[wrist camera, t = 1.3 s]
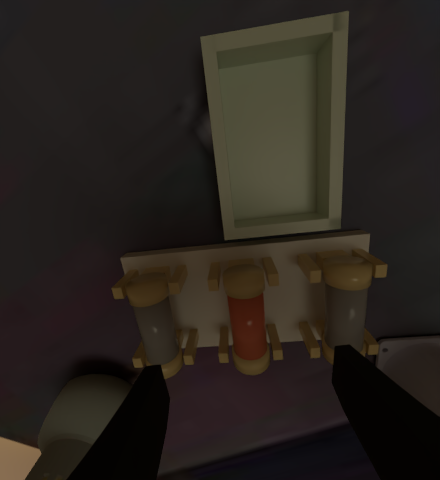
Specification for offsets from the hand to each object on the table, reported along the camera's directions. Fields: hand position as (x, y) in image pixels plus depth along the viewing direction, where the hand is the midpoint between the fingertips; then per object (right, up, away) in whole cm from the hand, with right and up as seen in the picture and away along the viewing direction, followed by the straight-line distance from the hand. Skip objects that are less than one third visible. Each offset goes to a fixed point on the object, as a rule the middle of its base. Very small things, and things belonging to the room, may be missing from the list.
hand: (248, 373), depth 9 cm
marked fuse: (+1, 0, +9) cm, 9 cm away
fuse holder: (+1, +1, +11) cm, 11 cm away
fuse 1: (-6, -1, +9) cm, 11 cm away
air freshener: (-13, -12, +16) cm, 24 cm away
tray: (+3, +12, +7) cm, 15 cm away
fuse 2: (+8, +1, +8) cm, 11 cm away
